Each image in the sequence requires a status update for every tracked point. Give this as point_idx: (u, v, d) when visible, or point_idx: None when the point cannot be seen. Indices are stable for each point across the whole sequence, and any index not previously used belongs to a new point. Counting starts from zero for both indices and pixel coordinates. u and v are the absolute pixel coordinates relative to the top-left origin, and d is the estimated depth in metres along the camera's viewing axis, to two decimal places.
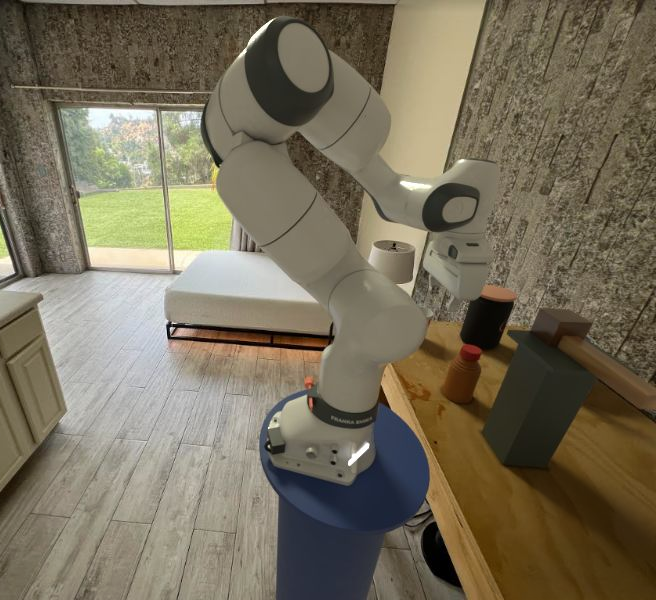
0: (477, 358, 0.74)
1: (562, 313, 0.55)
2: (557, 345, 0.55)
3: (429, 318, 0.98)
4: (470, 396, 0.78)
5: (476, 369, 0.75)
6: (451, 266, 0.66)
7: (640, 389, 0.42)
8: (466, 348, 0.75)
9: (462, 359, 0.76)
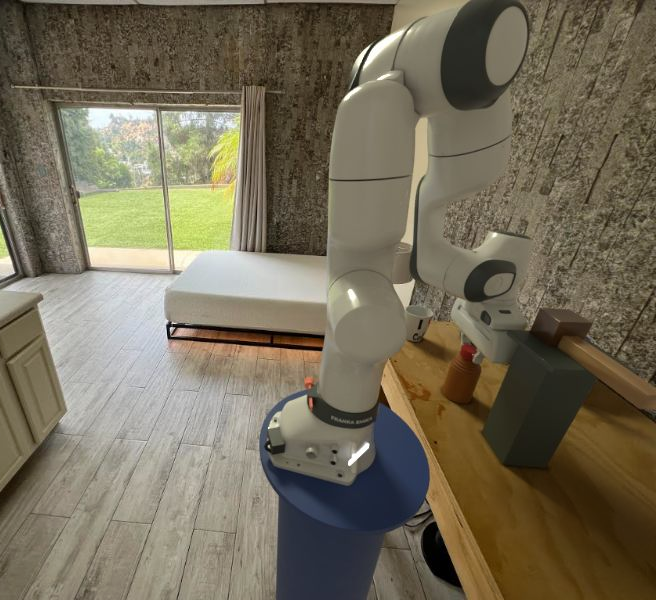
0: None
1: (562, 313, 0.55)
2: (557, 345, 0.55)
3: (429, 318, 0.98)
4: (470, 396, 0.78)
5: (476, 369, 0.75)
6: (482, 328, 0.69)
7: (640, 389, 0.42)
8: (466, 348, 0.75)
9: (462, 359, 0.76)
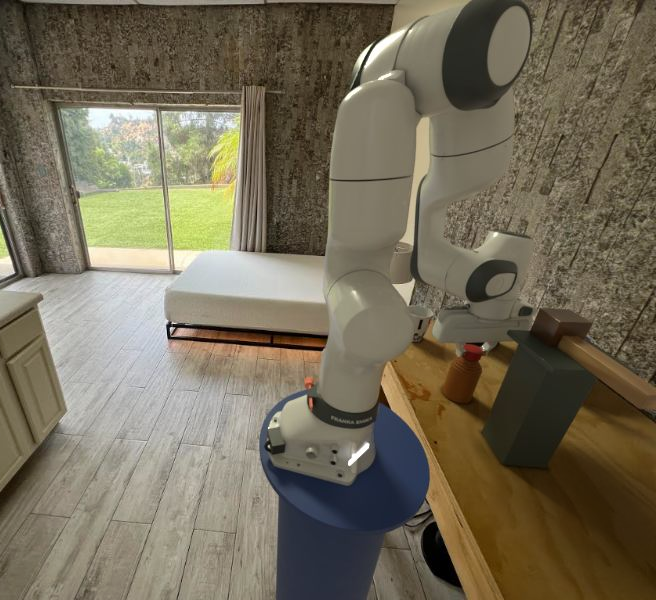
0: None
1: (562, 313, 0.55)
2: (557, 345, 0.55)
3: (429, 318, 0.98)
4: (470, 396, 0.78)
5: (477, 369, 0.75)
6: (502, 323, 0.70)
7: (640, 389, 0.42)
8: (475, 351, 0.74)
9: (463, 359, 0.76)
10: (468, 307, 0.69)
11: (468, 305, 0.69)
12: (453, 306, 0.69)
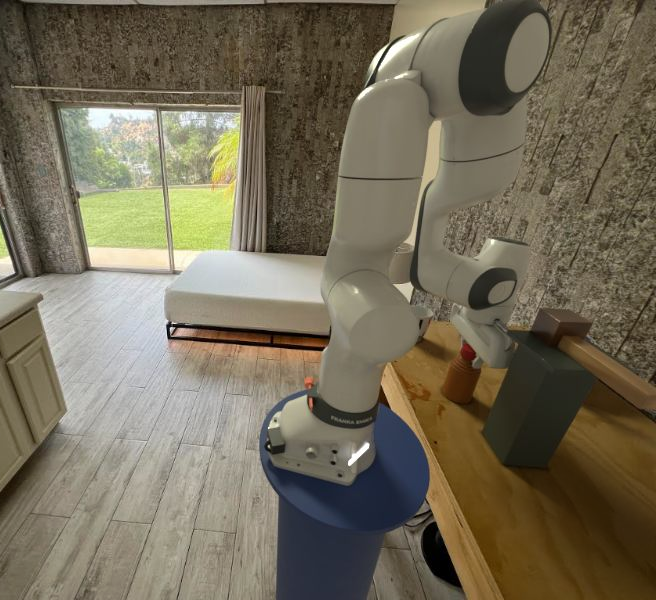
0: None
1: (562, 313, 0.55)
2: (557, 345, 0.55)
3: (429, 318, 0.98)
4: (470, 396, 0.78)
5: (476, 369, 0.75)
6: None
7: (640, 389, 0.42)
8: None
9: (462, 359, 0.76)
10: None
11: (499, 320, 0.66)
12: (509, 328, 0.63)
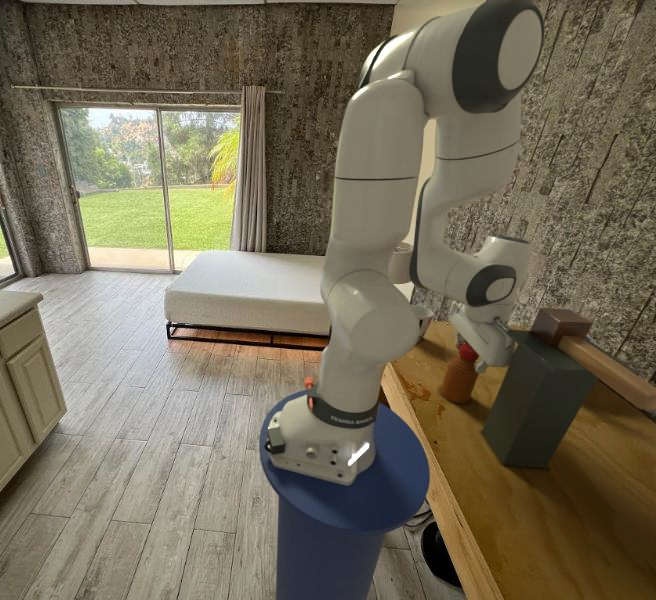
0: None
1: (562, 313, 0.55)
2: (557, 345, 0.55)
3: (429, 318, 0.98)
4: (468, 396, 0.78)
5: (474, 369, 0.75)
6: None
7: (640, 389, 0.42)
8: None
9: (461, 359, 0.76)
10: None
11: (499, 318, 0.66)
12: (509, 327, 0.63)
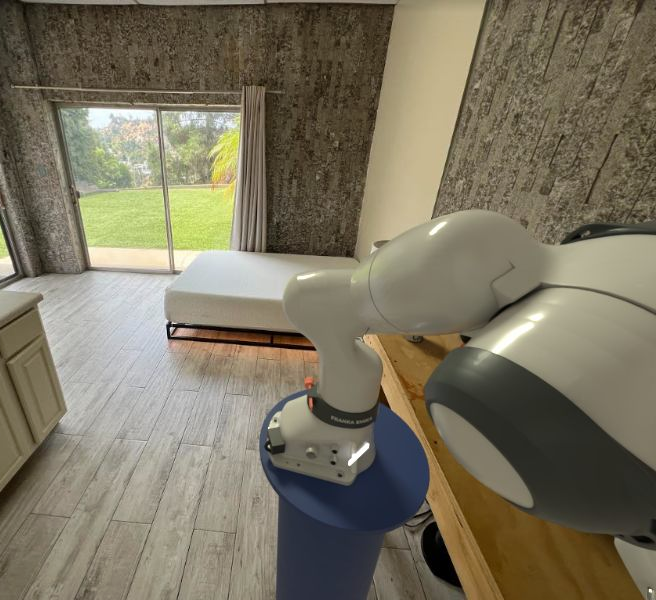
0: None
1: None
2: None
3: None
4: None
5: None
6: None
7: None
8: None
9: None
10: None
11: None
12: None
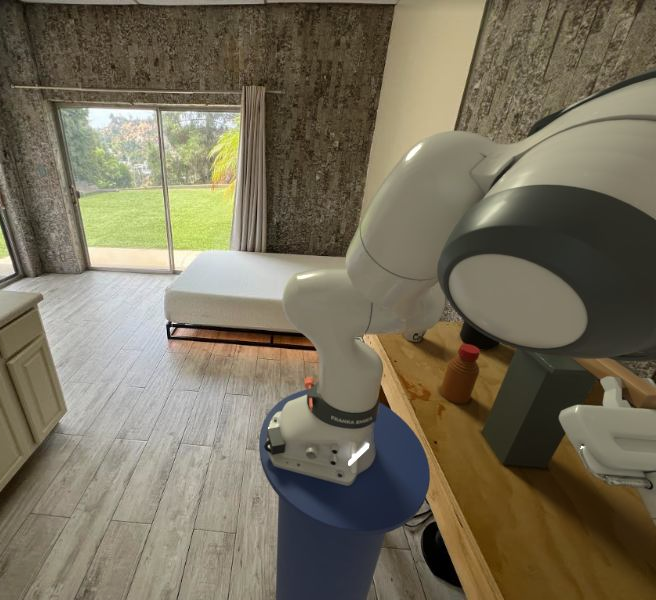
0: None
1: None
2: None
3: None
4: (468, 396, 0.78)
5: (474, 369, 0.75)
6: None
7: (639, 389, 0.42)
8: (475, 348, 0.75)
9: (460, 359, 0.76)
10: None
11: None
12: None
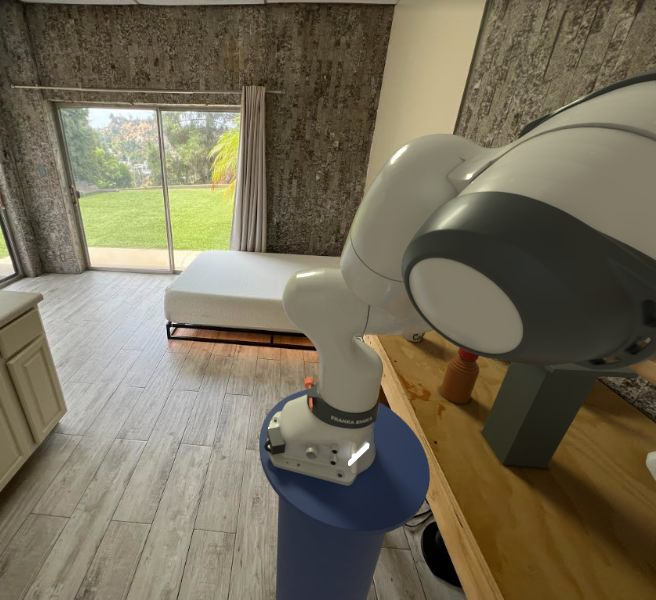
0: None
1: None
2: None
3: None
4: (468, 396, 0.78)
5: (474, 369, 0.75)
6: None
7: None
8: None
9: (460, 359, 0.76)
10: None
11: None
12: None
